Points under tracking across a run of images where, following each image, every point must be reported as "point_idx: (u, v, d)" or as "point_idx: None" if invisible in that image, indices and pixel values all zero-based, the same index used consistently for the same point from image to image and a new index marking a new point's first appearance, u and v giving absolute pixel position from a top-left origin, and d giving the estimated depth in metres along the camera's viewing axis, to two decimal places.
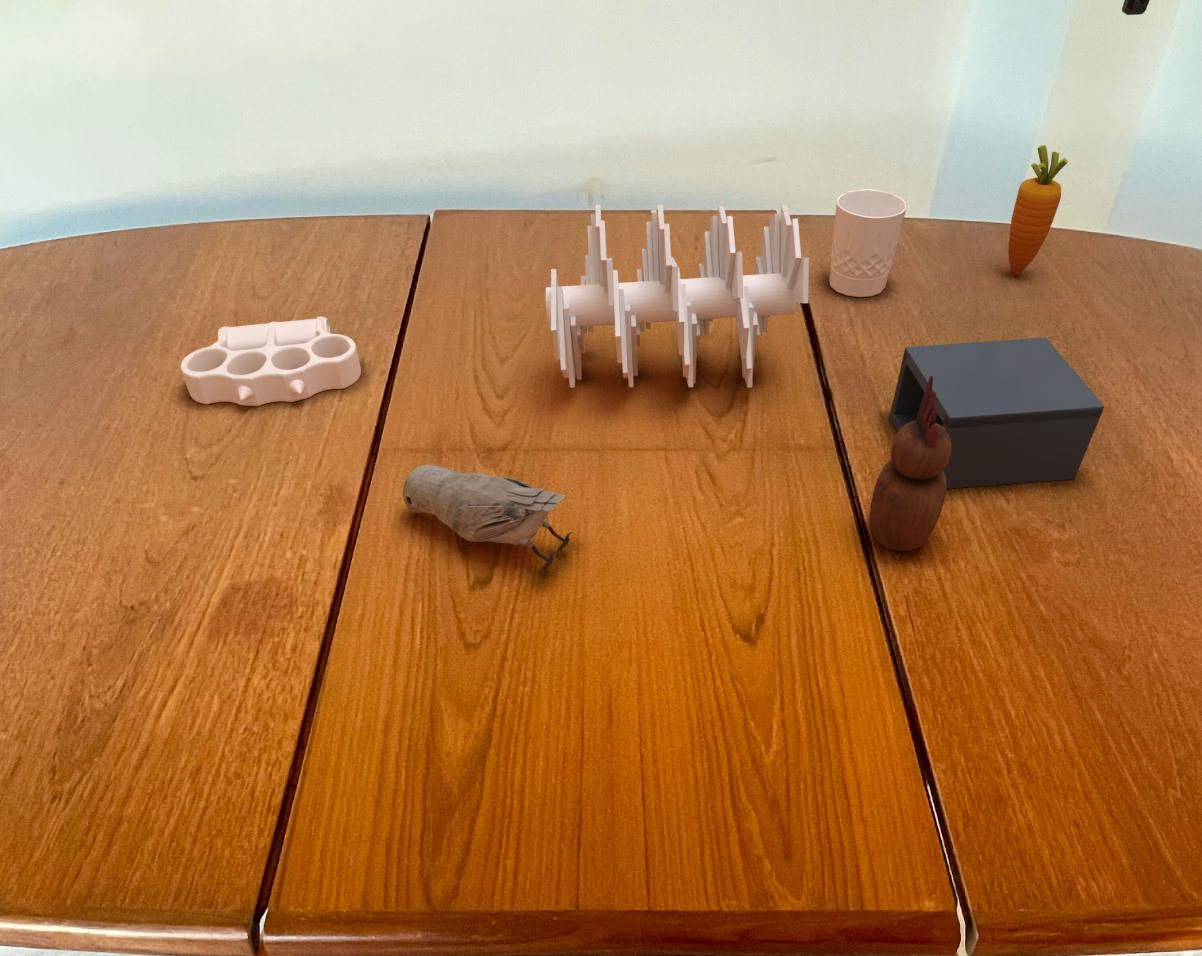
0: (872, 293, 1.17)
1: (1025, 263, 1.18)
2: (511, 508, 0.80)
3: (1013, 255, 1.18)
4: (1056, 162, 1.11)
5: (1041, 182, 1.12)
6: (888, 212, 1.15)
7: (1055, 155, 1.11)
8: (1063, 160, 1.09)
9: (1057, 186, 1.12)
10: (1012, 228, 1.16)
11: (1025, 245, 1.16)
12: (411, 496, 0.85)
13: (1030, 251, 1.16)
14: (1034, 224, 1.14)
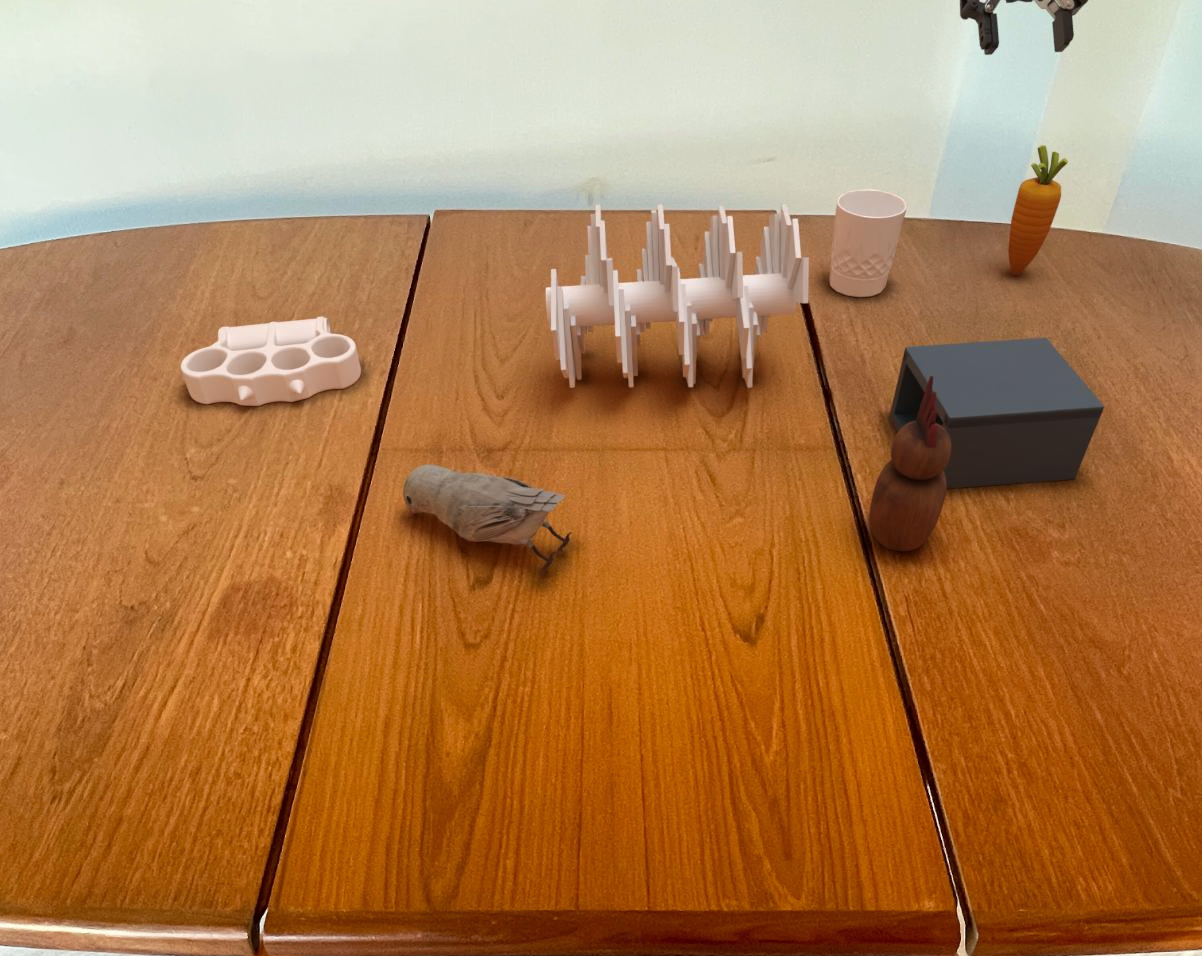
0: (872, 293, 1.17)
1: (1025, 263, 1.18)
2: (512, 508, 0.80)
3: (1013, 255, 1.18)
4: (1056, 162, 1.11)
5: (1041, 182, 1.12)
6: (888, 212, 1.15)
7: (1055, 155, 1.11)
8: (1063, 160, 1.09)
9: (1057, 186, 1.12)
10: (1012, 228, 1.16)
11: (1025, 245, 1.16)
12: (412, 496, 0.85)
13: (1030, 251, 1.16)
14: (1034, 224, 1.14)
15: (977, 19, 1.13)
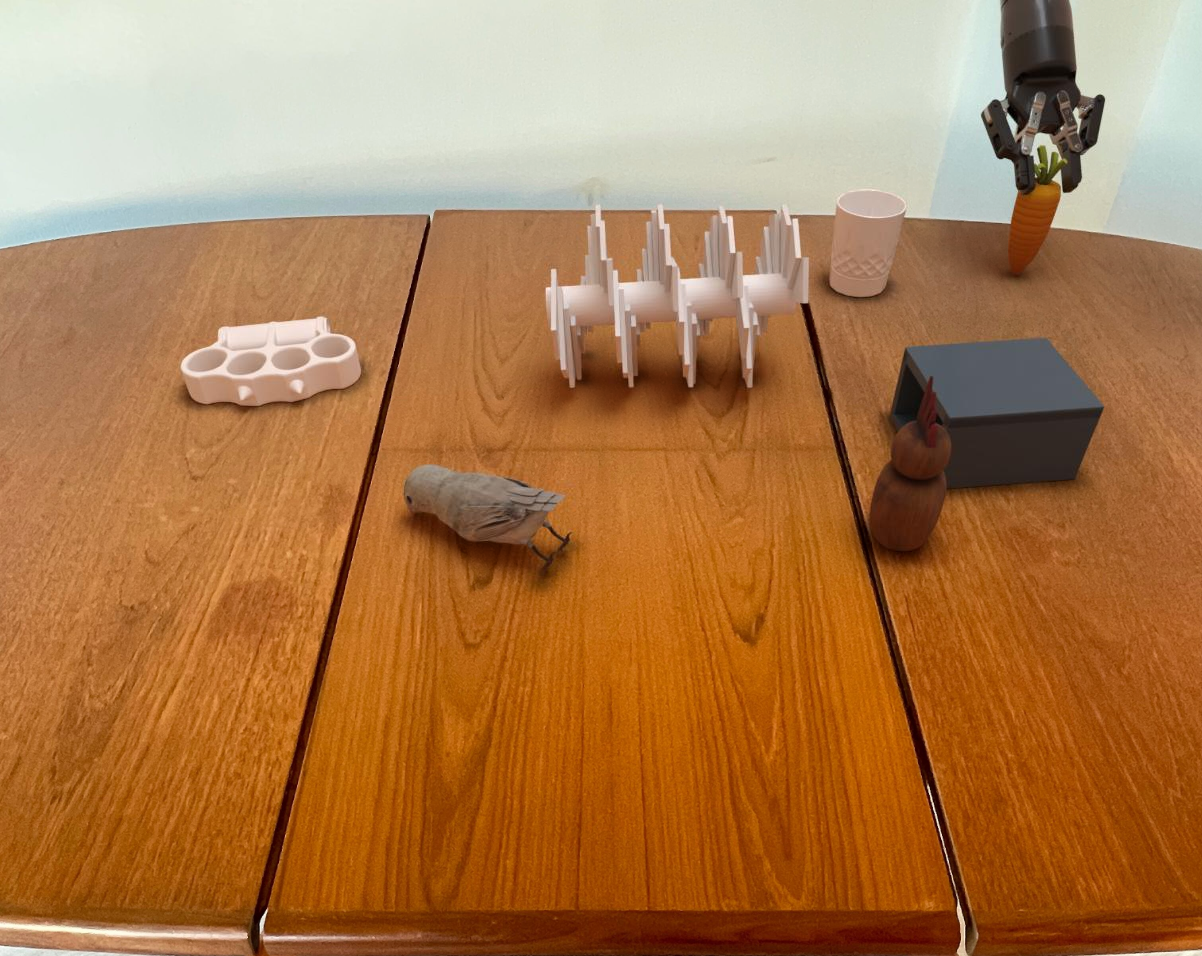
0: (872, 293, 1.17)
1: (1025, 263, 1.18)
2: (512, 508, 0.80)
3: (1013, 255, 1.18)
4: (1055, 162, 1.11)
5: (1041, 182, 1.12)
6: (888, 212, 1.15)
7: (1054, 155, 1.11)
8: (1062, 160, 1.09)
9: (1057, 186, 1.12)
10: (1012, 228, 1.16)
11: (1025, 245, 1.16)
12: (412, 495, 0.85)
13: (1030, 251, 1.16)
14: (1034, 224, 1.14)
15: (1013, 160, 1.11)
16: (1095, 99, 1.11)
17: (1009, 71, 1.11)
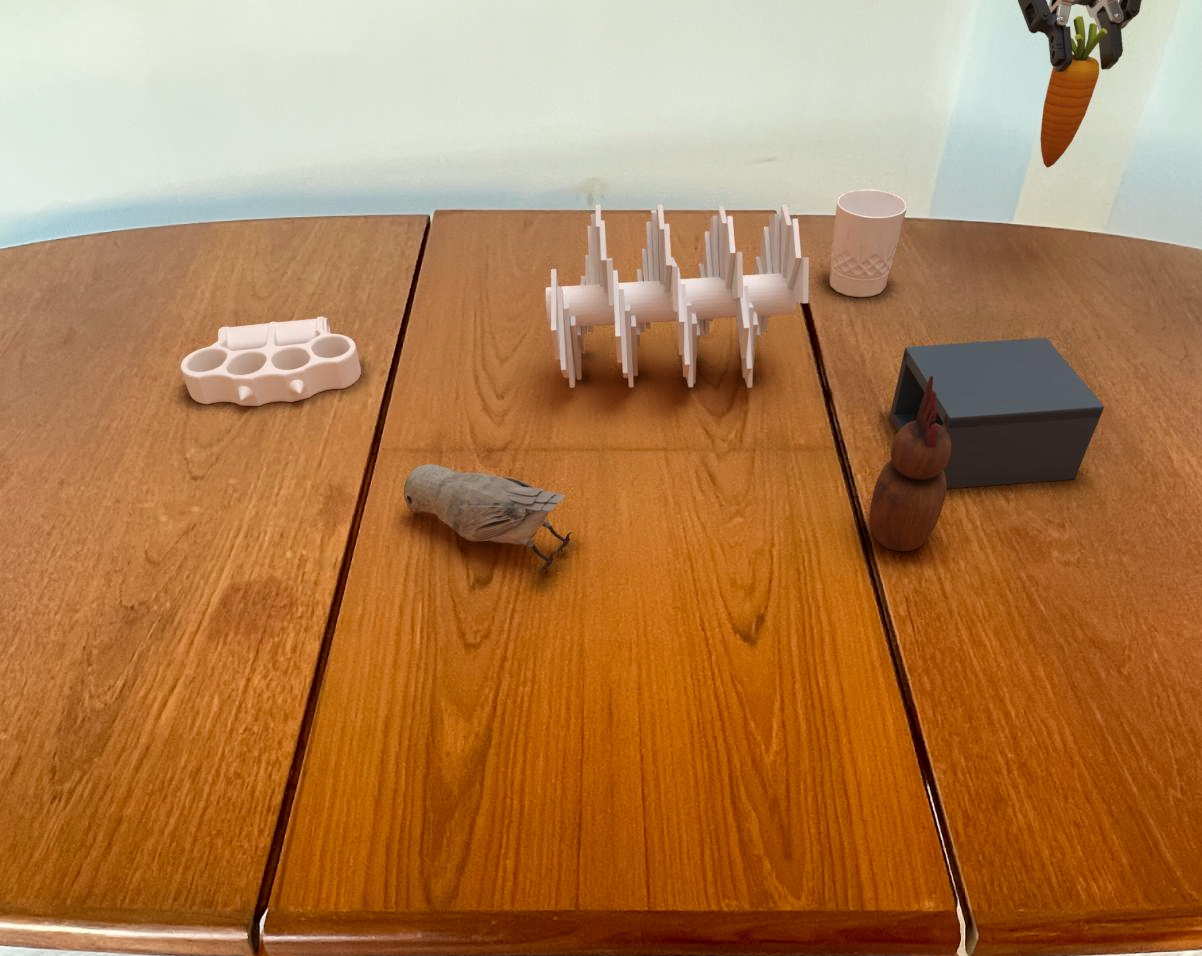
0: (872, 293, 1.17)
1: (1059, 152, 1.09)
2: (512, 508, 0.80)
3: (1046, 143, 1.09)
4: (1094, 35, 1.02)
5: (1077, 58, 1.03)
6: (888, 212, 1.15)
7: (1093, 27, 1.02)
8: (1102, 30, 1.00)
9: (1095, 62, 1.03)
10: (1045, 112, 1.07)
11: (1059, 131, 1.07)
12: (412, 495, 0.85)
13: (1065, 137, 1.07)
14: (1069, 105, 1.05)
15: (1048, 33, 1.02)
16: None
17: None
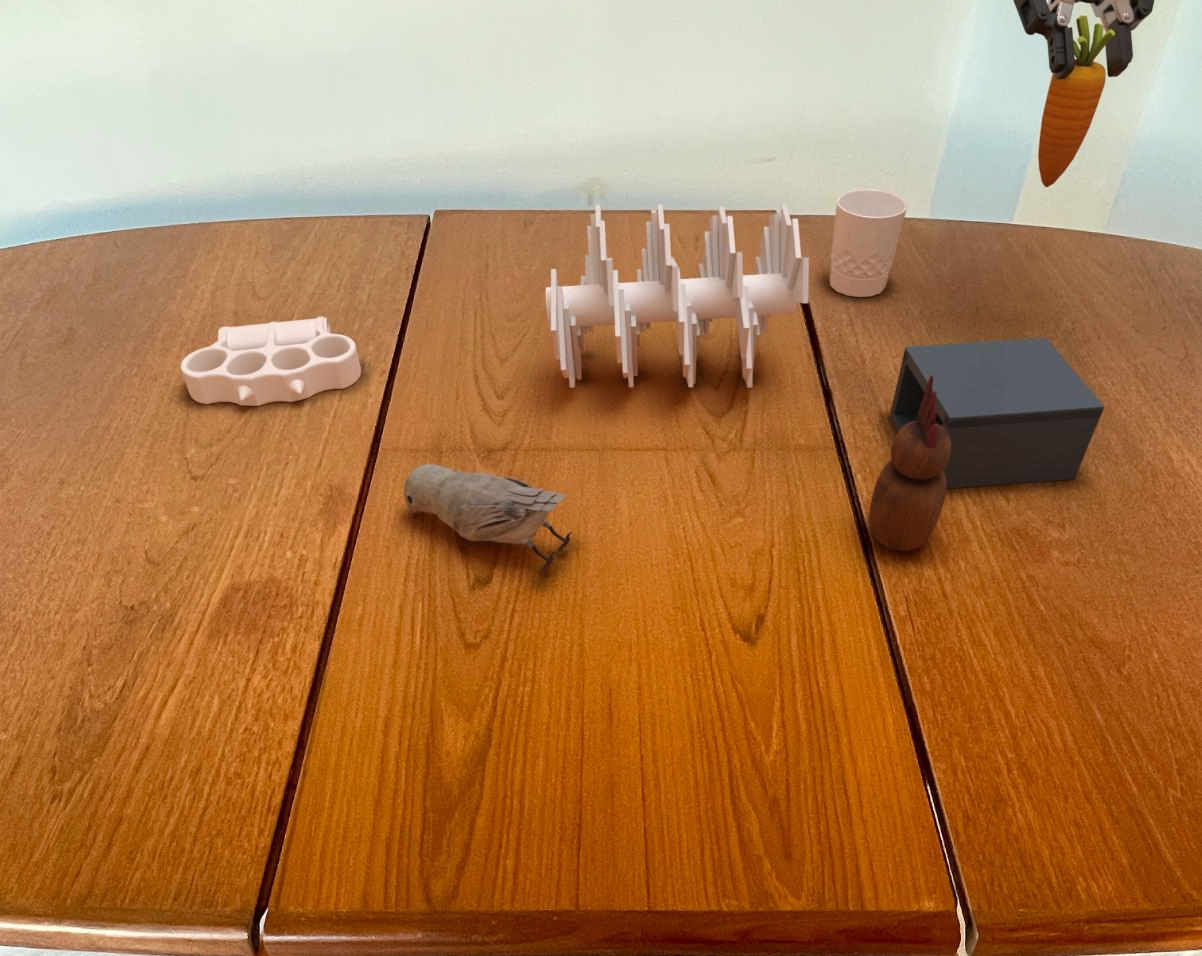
0: (872, 293, 1.17)
1: (1059, 170, 0.96)
2: (512, 508, 0.80)
3: (1044, 160, 0.96)
4: (1100, 37, 0.89)
5: (1080, 63, 0.90)
6: (888, 212, 1.15)
7: (1098, 28, 0.88)
8: (1109, 32, 0.87)
9: (1100, 68, 0.90)
10: (1043, 125, 0.94)
11: (1059, 146, 0.94)
12: (412, 495, 0.85)
13: (1066, 154, 0.94)
14: (1071, 117, 0.92)
15: (1046, 34, 0.89)
16: None
17: None
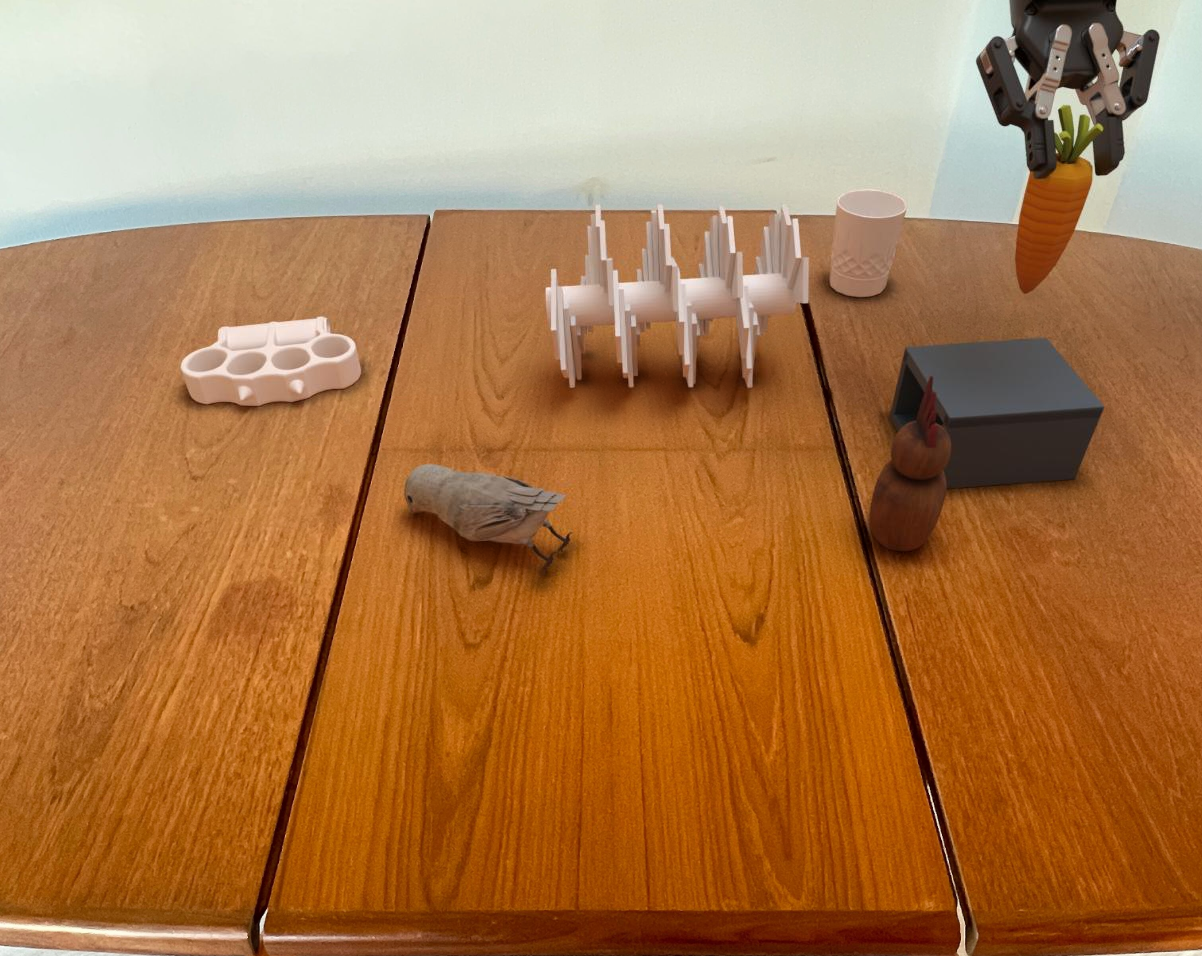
0: (872, 293, 1.17)
1: (1040, 277, 0.82)
2: (512, 508, 0.80)
3: (1022, 266, 0.82)
4: (1086, 130, 0.75)
5: (1063, 160, 0.76)
6: (888, 212, 1.15)
7: (1084, 120, 0.75)
8: (1096, 126, 0.73)
9: (1087, 166, 0.76)
10: (1020, 227, 0.80)
11: (1039, 252, 0.80)
12: (413, 495, 0.85)
13: (1047, 260, 0.81)
14: (1052, 221, 0.78)
15: (1023, 127, 0.76)
16: (1145, 37, 0.75)
17: None
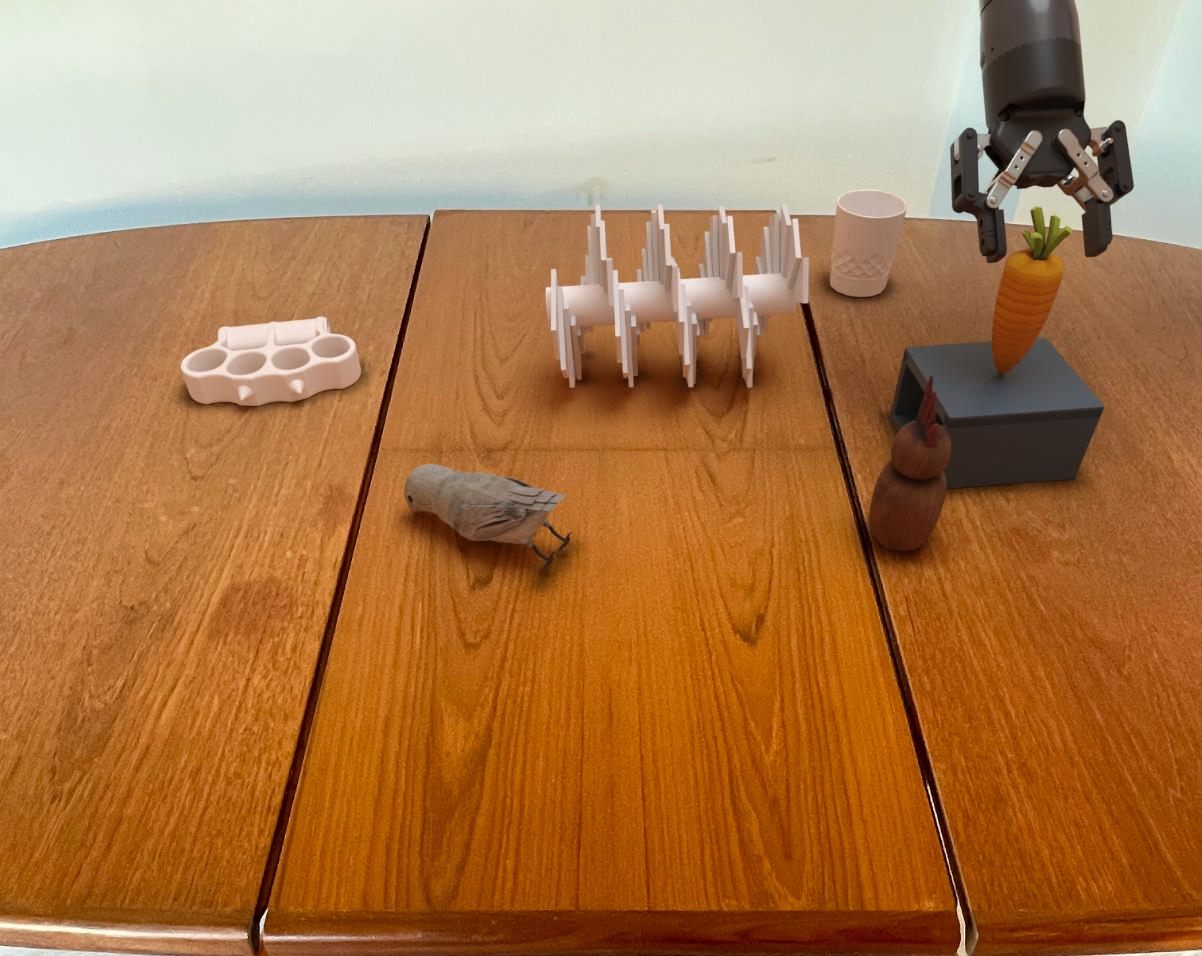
0: (872, 293, 1.17)
1: (1014, 361, 0.87)
2: (512, 508, 0.80)
3: (998, 350, 0.87)
4: (1056, 230, 0.80)
5: (1035, 256, 0.81)
6: (888, 212, 1.15)
7: (1055, 220, 0.80)
8: (1065, 229, 0.78)
9: (1057, 262, 0.81)
10: (996, 315, 0.85)
11: (1014, 339, 0.85)
12: (413, 495, 0.85)
13: (1021, 346, 0.86)
14: (1026, 312, 0.83)
15: (976, 214, 0.80)
16: (1112, 129, 0.79)
17: (992, 101, 0.80)
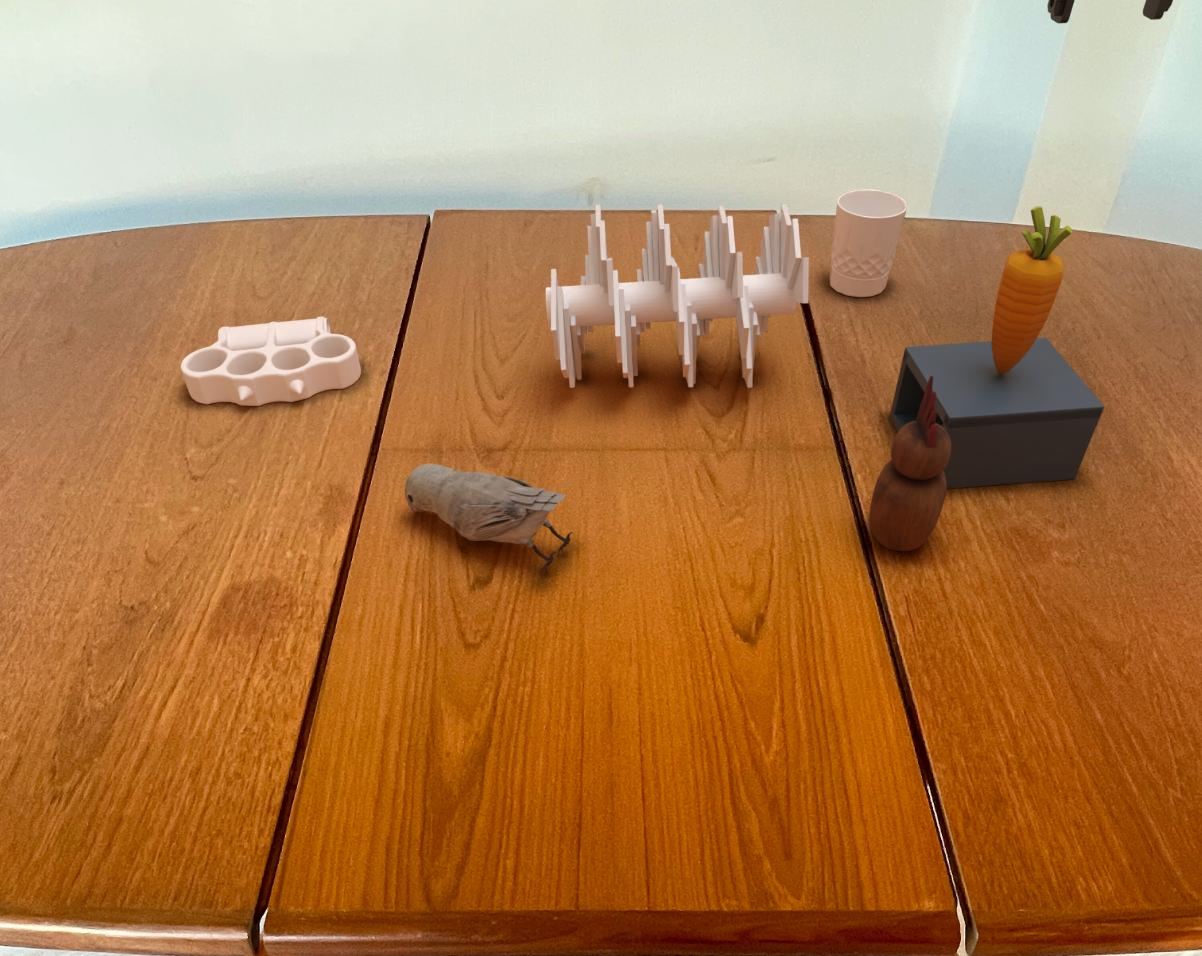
0: (872, 293, 1.17)
1: (1014, 361, 0.87)
2: (512, 507, 0.80)
3: (998, 350, 0.87)
4: (1056, 230, 0.80)
5: (1035, 256, 0.81)
6: (888, 212, 1.15)
7: (1055, 220, 0.80)
8: (1066, 229, 0.78)
9: (1058, 262, 0.81)
10: (996, 315, 0.85)
11: (1014, 338, 0.85)
12: (413, 494, 0.85)
13: (1021, 346, 0.86)
14: (1026, 312, 0.83)
15: None
16: None
17: None
